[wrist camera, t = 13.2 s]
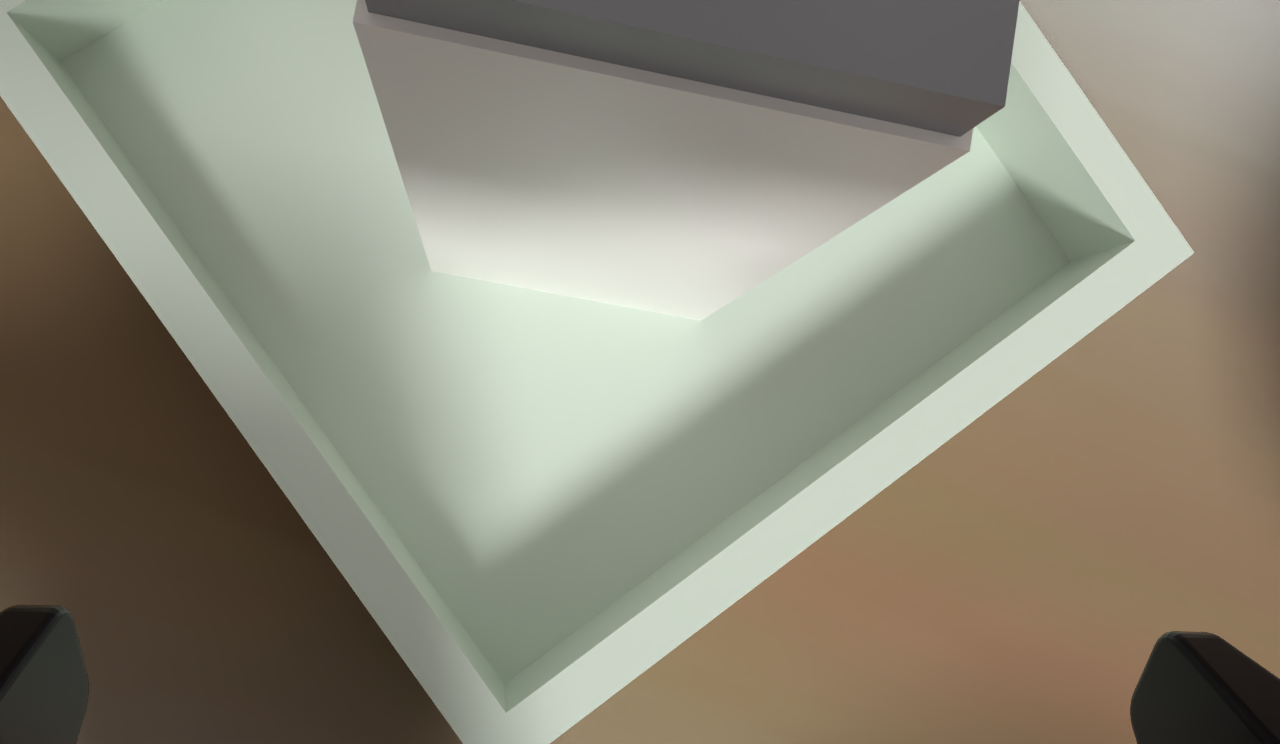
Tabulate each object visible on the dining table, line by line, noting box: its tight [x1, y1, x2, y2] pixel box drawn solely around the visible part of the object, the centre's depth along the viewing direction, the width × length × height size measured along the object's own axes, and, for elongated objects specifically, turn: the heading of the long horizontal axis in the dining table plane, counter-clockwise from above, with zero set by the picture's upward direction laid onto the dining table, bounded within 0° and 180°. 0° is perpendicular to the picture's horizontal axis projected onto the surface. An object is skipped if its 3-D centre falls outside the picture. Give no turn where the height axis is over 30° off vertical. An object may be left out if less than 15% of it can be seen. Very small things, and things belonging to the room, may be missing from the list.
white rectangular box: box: [353, 0, 1020, 321], centre depth 14 cm, size 5×5×12 cm
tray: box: [0, 0, 1194, 744], centre depth 20 cm, size 15×15×3 cm
